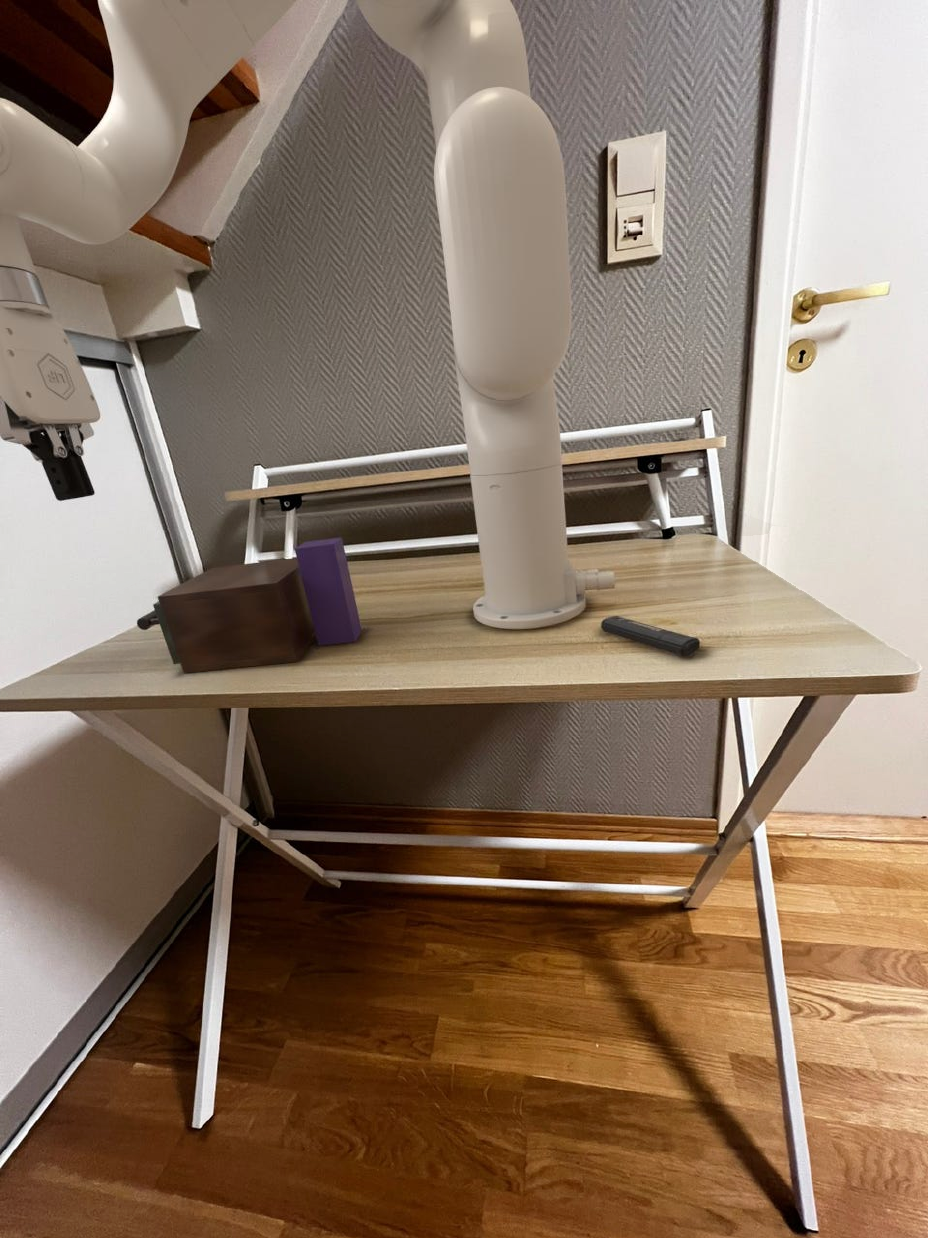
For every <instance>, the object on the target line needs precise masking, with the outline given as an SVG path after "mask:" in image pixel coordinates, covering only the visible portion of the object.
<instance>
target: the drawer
mask: <svg viewBox="0 0 928 1238" xmlns="http://www.w3.org/2000/svg"><path fill="white" fill-rule="evenodd" d="M152 607H153V609H154V610H152V611H150V612H148V613H146V614H145V615H143V616H141V617H139V618H138V619H137V620H136V625H137V627H138V628H139V629H140V630H141V631H142V630H143V631H147V630H149V629H151V628H152V627H154V626H157V625H158V626H160V629H161V632H162V635H163V637H164V640H165V644H166V647H167V649H168V652H169V654H170V655H169V656H170V658H171V660H172V663H173V665H181V664H180V661H179V658H178V655H177V652H176V649H175V646H174V644H173V641H172V638H171V635H170V632H169V629H168V626H167V623H166V620H165V617H164V615H163V612H162V609H161V606H160V603H159V600H158V601H157V602H154V603H153V604H152Z"/></svg>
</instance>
